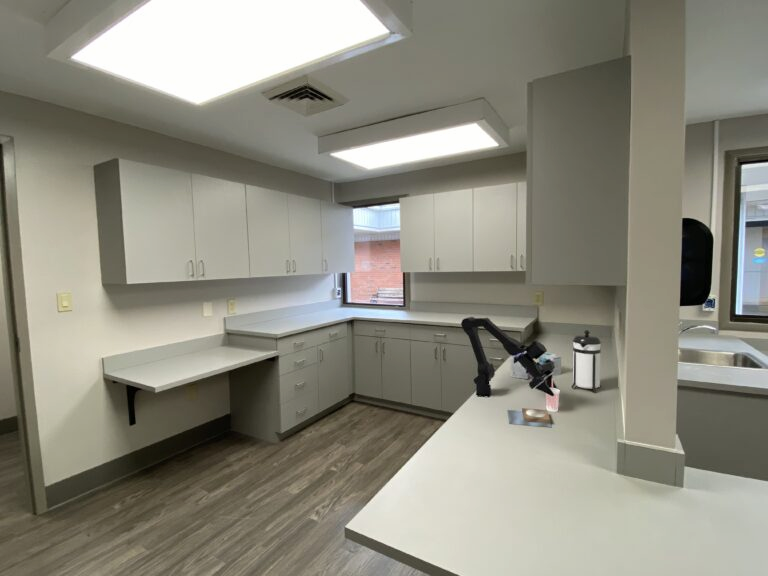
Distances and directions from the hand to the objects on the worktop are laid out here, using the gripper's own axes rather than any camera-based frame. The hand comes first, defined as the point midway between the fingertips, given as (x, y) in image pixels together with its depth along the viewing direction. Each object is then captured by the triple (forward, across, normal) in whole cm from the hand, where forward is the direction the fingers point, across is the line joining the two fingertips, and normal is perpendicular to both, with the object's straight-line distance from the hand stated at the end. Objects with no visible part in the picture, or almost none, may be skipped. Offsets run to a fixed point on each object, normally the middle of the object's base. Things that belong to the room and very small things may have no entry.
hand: (555, 393), depth 164 cm
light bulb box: (-7, +55, +18) cm, 58 cm away
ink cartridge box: (-14, +38, +26) cm, 48 cm away
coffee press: (+9, +40, +2) cm, 41 cm away
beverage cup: (+4, 0, +6) cm, 8 cm away
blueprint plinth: (+1, -15, +10) cm, 18 cm away
